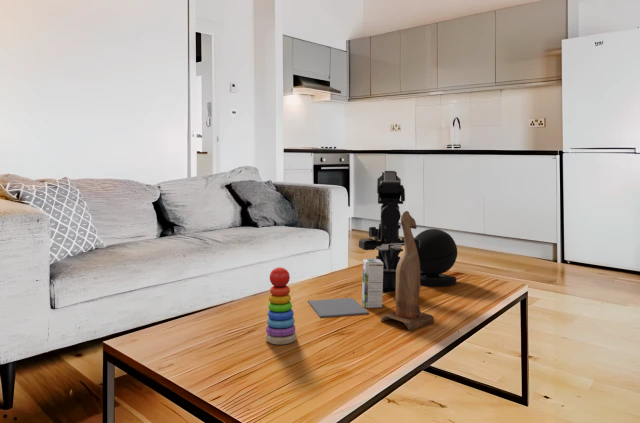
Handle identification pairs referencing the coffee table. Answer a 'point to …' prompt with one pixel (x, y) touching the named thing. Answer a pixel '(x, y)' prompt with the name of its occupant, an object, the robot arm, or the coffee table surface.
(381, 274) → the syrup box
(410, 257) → the bird sculpture
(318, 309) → the mat
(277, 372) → the coffee table surface
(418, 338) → the coffee table surface
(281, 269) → the stacking toy
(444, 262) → the webcam
